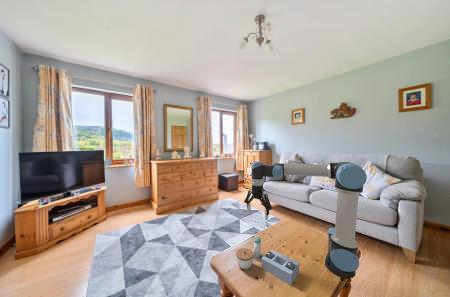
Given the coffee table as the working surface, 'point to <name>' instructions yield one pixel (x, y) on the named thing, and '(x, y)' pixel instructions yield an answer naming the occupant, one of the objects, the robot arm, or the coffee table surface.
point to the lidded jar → (244, 257)
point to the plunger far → (269, 255)
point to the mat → (258, 258)
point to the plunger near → (291, 266)
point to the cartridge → (257, 247)
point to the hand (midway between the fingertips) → (257, 216)
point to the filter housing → (280, 267)
